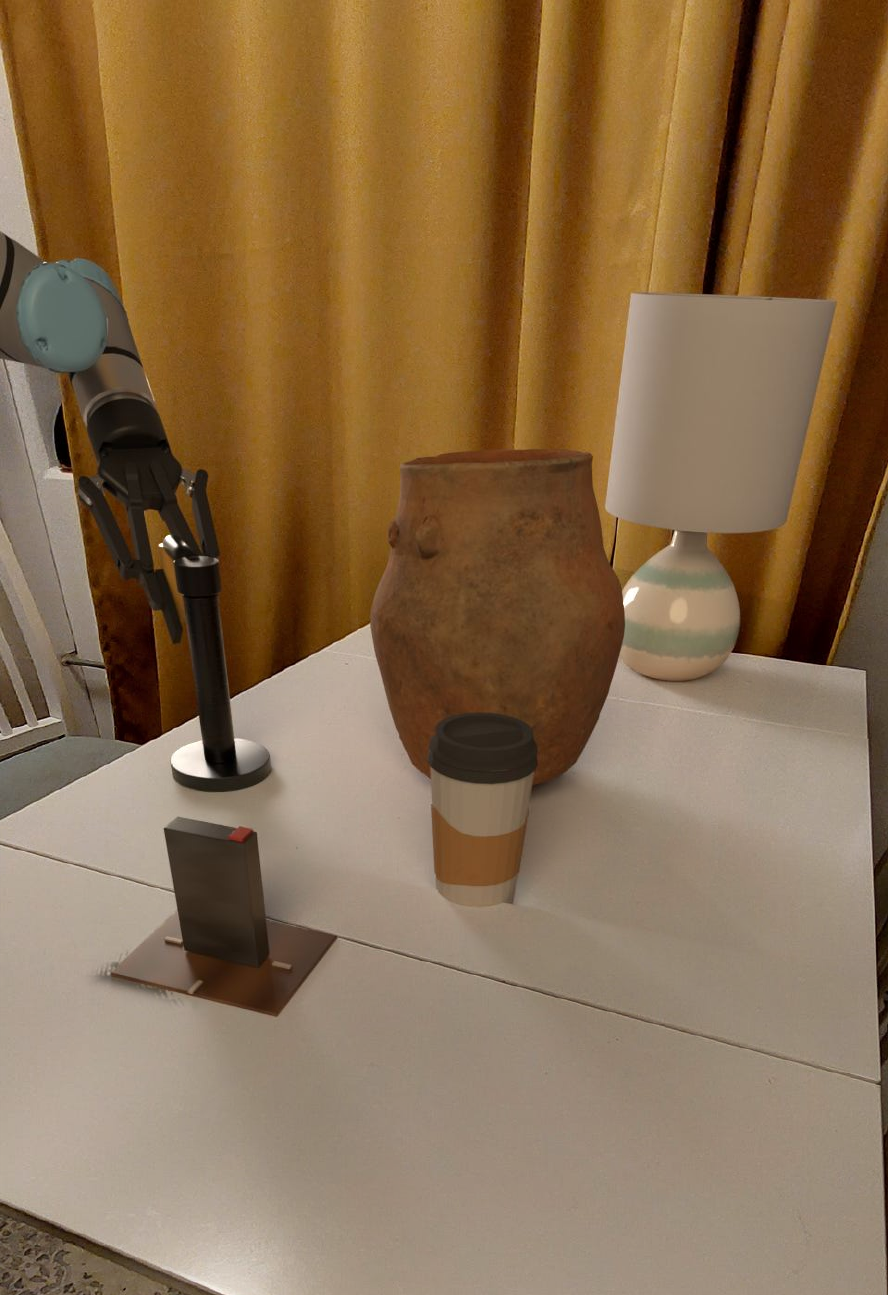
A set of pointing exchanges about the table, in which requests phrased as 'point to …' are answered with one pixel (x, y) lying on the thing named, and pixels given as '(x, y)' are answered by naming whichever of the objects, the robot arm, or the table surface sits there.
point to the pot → (498, 600)
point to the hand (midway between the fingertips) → (194, 634)
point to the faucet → (214, 713)
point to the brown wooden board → (228, 967)
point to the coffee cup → (480, 805)
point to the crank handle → (188, 572)
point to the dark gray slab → (218, 890)
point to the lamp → (706, 456)
